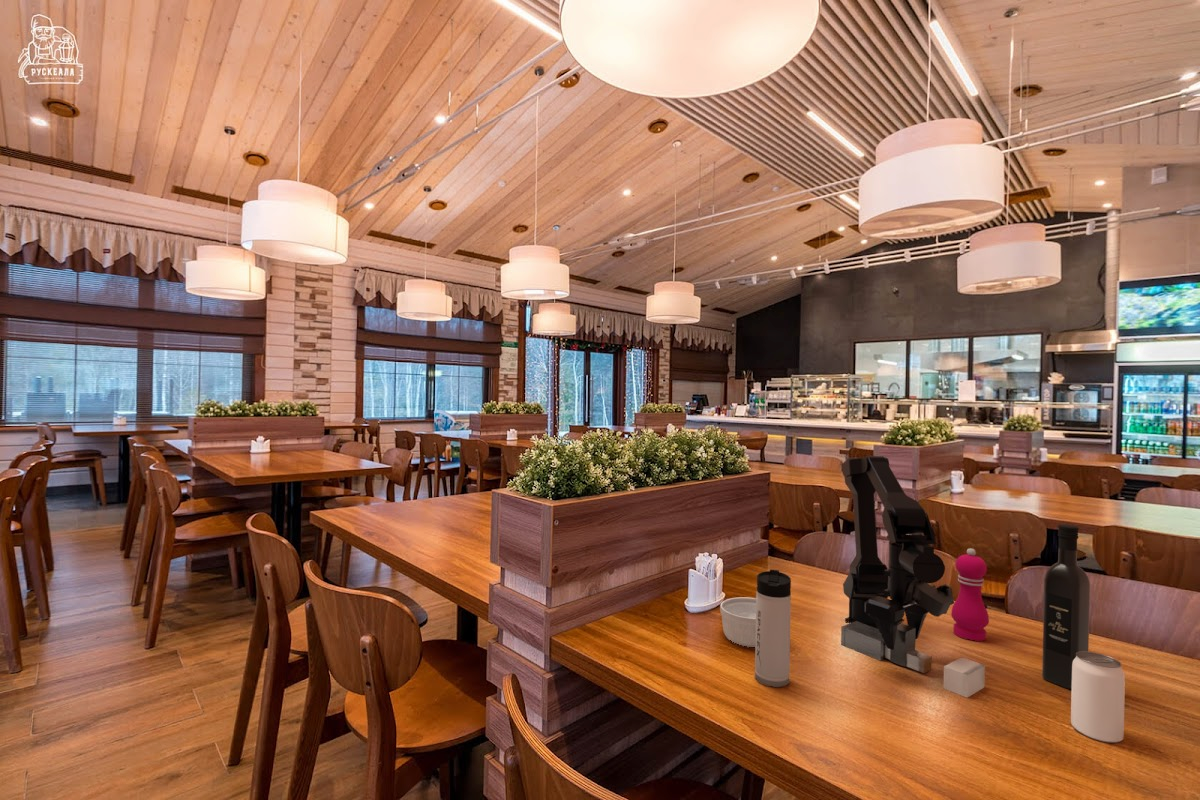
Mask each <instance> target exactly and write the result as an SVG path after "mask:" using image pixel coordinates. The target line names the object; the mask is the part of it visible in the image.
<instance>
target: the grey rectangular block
mask: <svg viewBox="0 0 1200 800" xmlns="http://www.w3.org/2000/svg"><path fill="white" fill-rule="evenodd" d="M985 673H986V665H984V664H982V663H979V662H976V661H974V660H970V659H969V658H964V657H963V656H962V657H960V658H957V659H956V660H954V661H951V662H949V663H947V664H946V665H944V666H943V689H945V690H946V689H947V691H949V692H950V693H951V692H952V693H953V694H956V695H959V696H962V697H964V698H966V699H967V698H969V697H971V696H972V695H974V694H977V693H978V692H980V691H981V690H982V689H984V688H985V685H986V684H985V681H986V680H985V678H986V677H985V675H986V674H985Z"/></svg>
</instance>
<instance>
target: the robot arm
mask: <svg viewBox="0 0 1200 800" xmlns="http://www.w3.org/2000/svg"><path fill="white" fill-rule="evenodd" d="M841 473H842V475H843V477H844V483H845V485H846V487H847V488H848V489H849V491H850V492H851V494H852V502H853V520H854V521H853V522H854V523H853V524H854V537H855V541H854V542H855V556H854V558H853V560H852V561H851V562H850V565H849V573H848V574H847V576H846V578H845V580H844V582H843V585H842V587H843V589H842V590H843V594H844V595H845V596H846V597H847V598H848V599H849V600H848V617H845V618H844V621H845V622H847V623H848V624H849V623H852V622H855V621H857V622H860V623H863V624H866V625H868V626H871V627H874V628H877V629H879V631H880V633H881V635H882V637H883V640H884V642H885V644H886V646H887V648H888V649H891V650H893V649H894V645H895V639H896V632H897V626H898V625H899V624H900V623H902V624H903V622H905V619H904V616H905V618H906V623H907V625H908V626H911V627H914V628H916V629H915V640H917V639H919V636H920V633H921V630H922V628H923V624H924V622H925V619H926V617H927V615H928V614H930V615H932V616H933V617H940V616H942V615H946V614H947V613H948V610H949V608H951V607H950V606H953V605H954V603H955V601H954V598H955V597H954V595H953V593H954V592H953V588H952V587H951V586H949V585H947V584H945V583H944V584H941V585H939V586H936V585H931V584H934V583H936V582H939V581H940V580H941V579H942V578H943V577H944V575H945V571H946V566H945V563H944V561H943V559H942V557H940V556H939V555H938V554H936V553H935V547H934V546H933V545H936V543H937V542H936V539H935V538H936V532H935V530H934V528H933V525H932V522H931V521H930V518H929V515H928V513H927V512H926V510H925V508H923V506H922V505H921V504H920V503H919V502H918V500H916V499H914V498H912V497H910V496H908V495H907V494H906V492H905V491H904V489H903V488H902V486H901V484H900V482H899V480H898V479H897V477H896V475H895V474H894V472H893V470H892V469H891V466H890V461H889V458H887V457H885V456H883V455H866V456H862V457H848V458H847V459H846V460H845V461H844V462H842V466H841ZM875 494H877V496H878V499H880V502H881V503H882V506H883V510H882V511H883V512H882V515H881V518H882V523H883V526H884V528H885V531H886V533H887V535H886V539H887V540H889V541H888V567H887V565H886V564H885V563H884V562H882V560H881V558H880V557H879V552H878V539H877V534H878V533H877V522H876V521H877V519H876V505H875Z"/></svg>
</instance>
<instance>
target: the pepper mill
mask: <svg viewBox="0 0 1200 800" xmlns="http://www.w3.org/2000/svg"><path fill="white" fill-rule="evenodd" d="M976 554H977V552H976V549H974V548H967V550H966V554H962V555H960V556H958V557H957V559H956V560H955V569H956V571H957V572H958V573H959V574H957V577H958V578H957V581H958V582H959V592H958V596H957V598H956V599H955V601H954V604H952V608H951V613H950V614H951V618H952V619H953V621H954V622H955V623H954V624H953V629H952V630H953V634H954V635H955V636H956V637H958V636H959V638H961V637H962V638H961V639H963V638H966V639H965V640H967V639H970V640H969V641H972V640H975V641H974V642H982V641H983V640H984V641H985V640H986V639H987V630H986V629H985V628H986V627H987V626H988V625H989V624H990V623H989V622H990V619H989V617H990V616H989V612H988V610H987V608H986V606H985V604H984V601H983V597H982V586H984V584H985V583H984V581H985V579H984V578H983V577H984V576H985V575H986V574H987V570H988V567H987V564H986V562H985V560H984V559H982V558H981V557H980V556H979V555H978V556H977V555H976Z"/></svg>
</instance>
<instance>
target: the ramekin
mask: <svg viewBox="0 0 1200 800" xmlns="http://www.w3.org/2000/svg"><path fill="white" fill-rule="evenodd" d="M719 607H720V608H719V612H720V615H721V622H722V630H723V634H724V636H725V637H726V639H727V640H729V641H730V640H731V641H732V643H733V642H734V643H733V644H735V643H737V644H739V645H738V646H740V645H742V646H741V647H744V646H747V647H746V648H749V647H755V645H756V597H749V596H748V597H745V596H744V597H741V596H740V597H732V598H727V599H724V600H723V601H721V603H720V604H719ZM731 641H730V642H731ZM737 644H736V645H737Z"/></svg>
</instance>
